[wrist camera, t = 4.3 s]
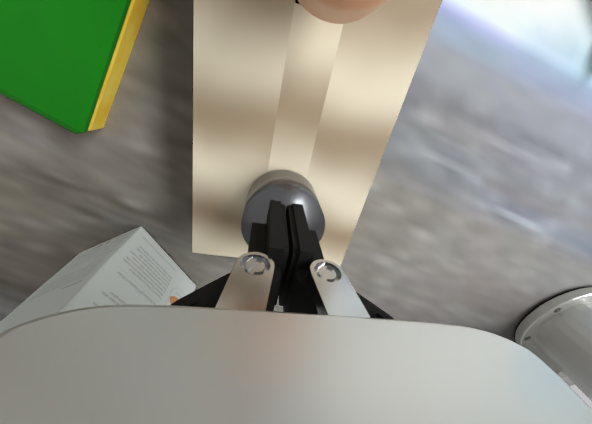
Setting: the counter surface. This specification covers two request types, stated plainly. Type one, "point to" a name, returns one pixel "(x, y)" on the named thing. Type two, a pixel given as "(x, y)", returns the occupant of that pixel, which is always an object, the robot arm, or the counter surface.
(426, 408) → the robot arm
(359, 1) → the middle knob
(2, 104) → the counter surface
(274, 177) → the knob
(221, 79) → the knob mount
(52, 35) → the dish sponge
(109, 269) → the small box
